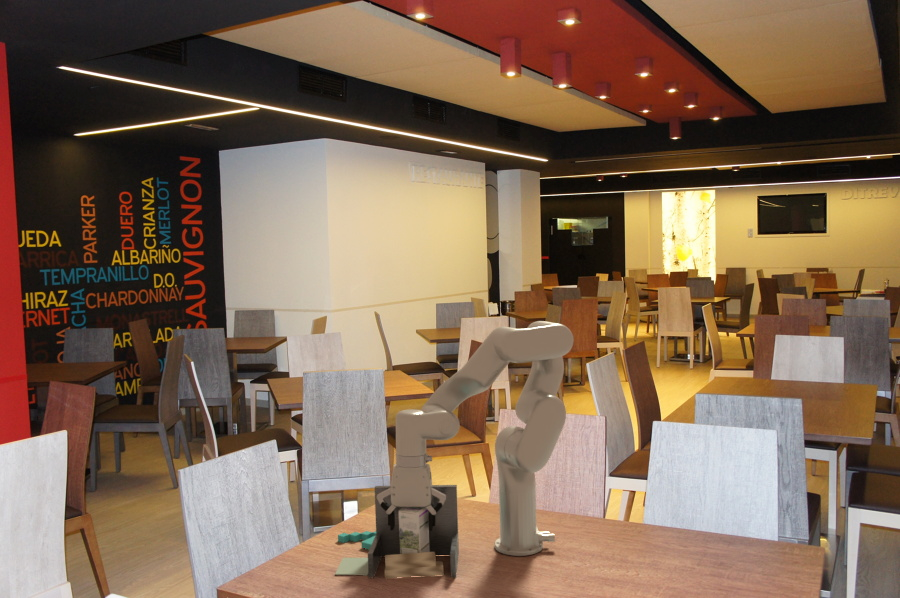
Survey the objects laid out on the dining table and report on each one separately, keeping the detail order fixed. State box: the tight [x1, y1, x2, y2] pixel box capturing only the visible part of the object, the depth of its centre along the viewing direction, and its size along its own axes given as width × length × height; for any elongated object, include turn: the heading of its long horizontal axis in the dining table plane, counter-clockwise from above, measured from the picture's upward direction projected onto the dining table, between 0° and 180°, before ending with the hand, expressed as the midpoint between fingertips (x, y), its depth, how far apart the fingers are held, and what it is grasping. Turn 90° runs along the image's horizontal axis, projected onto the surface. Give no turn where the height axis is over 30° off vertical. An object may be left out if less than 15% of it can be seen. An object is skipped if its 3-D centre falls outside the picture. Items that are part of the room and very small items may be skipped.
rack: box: [367, 484, 460, 579], centre depth 186 cm, size 21×14×18 cm
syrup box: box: [399, 507, 430, 554], centre depth 186 cm, size 6×6×14 cm
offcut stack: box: [384, 552, 444, 580], centre depth 181 cm, size 14×3×5 cm, turn 94°
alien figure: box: [337, 530, 376, 550], centre depth 206 cm, size 20×2×20 cm
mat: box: [334, 556, 369, 576], centre depth 186 cm, size 8×10×1 cm
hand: (411, 528), depth 186 cm, fingers open, 9 cm apart
